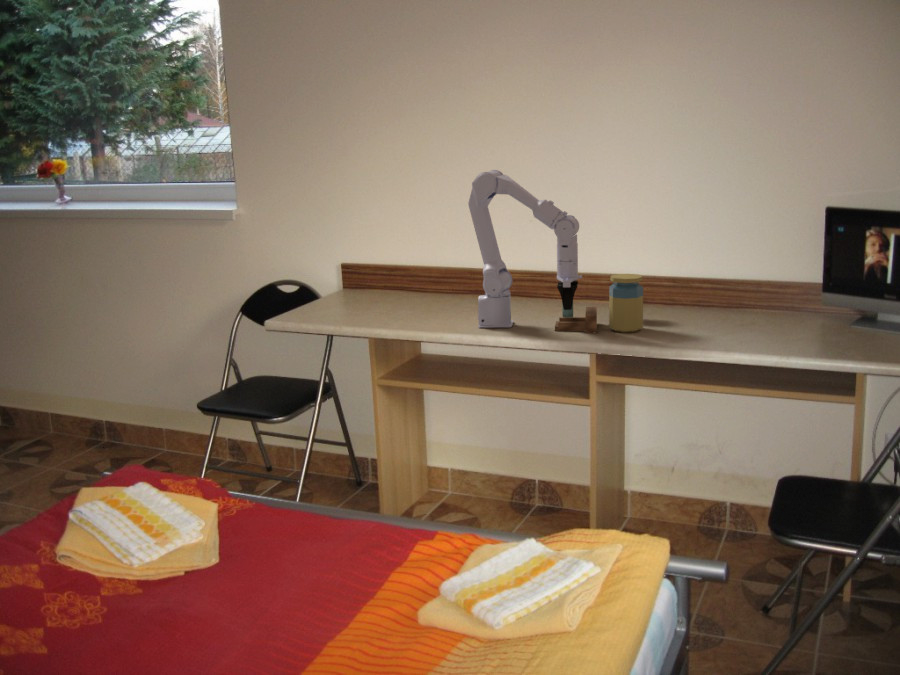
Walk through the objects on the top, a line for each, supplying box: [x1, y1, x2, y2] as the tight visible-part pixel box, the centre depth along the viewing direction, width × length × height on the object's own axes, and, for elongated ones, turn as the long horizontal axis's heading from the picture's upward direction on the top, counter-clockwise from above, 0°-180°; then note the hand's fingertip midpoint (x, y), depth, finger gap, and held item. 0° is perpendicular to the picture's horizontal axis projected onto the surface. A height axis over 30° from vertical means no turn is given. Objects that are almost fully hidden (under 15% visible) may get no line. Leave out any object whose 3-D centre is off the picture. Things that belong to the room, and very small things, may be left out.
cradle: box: [554, 306, 598, 334], centre depth 262 cm, size 12×12×5 cm
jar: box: [608, 273, 644, 334], centre depth 257 cm, size 9×9×15 cm
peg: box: [562, 304, 574, 318], centre depth 261 cm, size 3×3×8 cm
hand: (567, 308), depth 262 cm, fingers closed on peg, 3 cm apart
